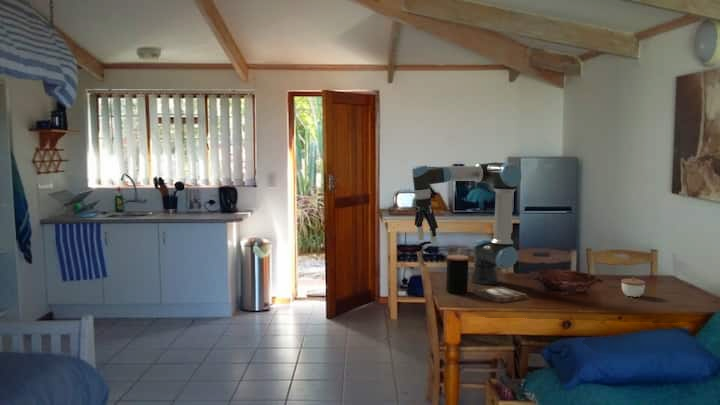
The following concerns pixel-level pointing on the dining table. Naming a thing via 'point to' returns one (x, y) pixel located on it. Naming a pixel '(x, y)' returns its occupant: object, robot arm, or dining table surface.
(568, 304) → the dining table surface
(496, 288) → the walnut board
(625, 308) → the dining table surface
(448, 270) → the coffee jar
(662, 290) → the dining table surface
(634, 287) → the lidded jar
